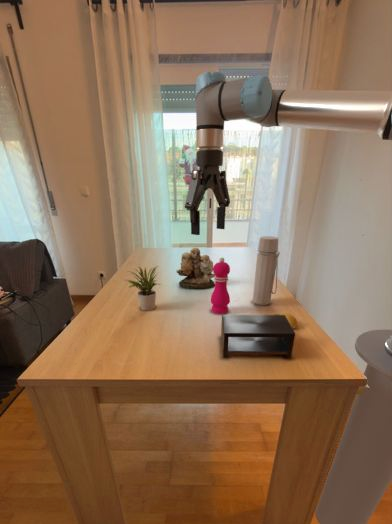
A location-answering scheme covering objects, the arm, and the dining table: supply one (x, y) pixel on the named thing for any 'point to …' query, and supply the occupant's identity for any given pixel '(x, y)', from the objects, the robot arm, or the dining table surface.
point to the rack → (257, 335)
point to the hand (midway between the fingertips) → (208, 231)
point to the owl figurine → (196, 270)
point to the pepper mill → (220, 288)
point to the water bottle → (265, 270)
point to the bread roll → (290, 319)
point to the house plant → (145, 288)
